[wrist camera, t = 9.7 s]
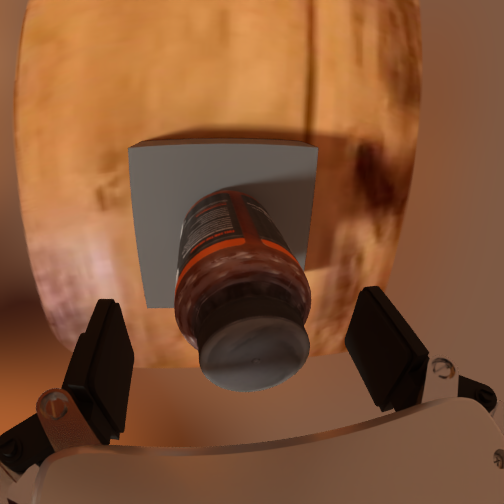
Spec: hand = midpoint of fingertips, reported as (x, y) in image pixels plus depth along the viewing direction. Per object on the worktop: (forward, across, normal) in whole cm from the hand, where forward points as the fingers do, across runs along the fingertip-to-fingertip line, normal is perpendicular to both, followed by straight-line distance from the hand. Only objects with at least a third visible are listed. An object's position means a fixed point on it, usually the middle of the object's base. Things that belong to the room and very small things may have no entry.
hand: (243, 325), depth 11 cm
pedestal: (+14, 0, +1) cm, 14 cm away
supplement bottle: (+10, 0, +1) cm, 10 cm away
